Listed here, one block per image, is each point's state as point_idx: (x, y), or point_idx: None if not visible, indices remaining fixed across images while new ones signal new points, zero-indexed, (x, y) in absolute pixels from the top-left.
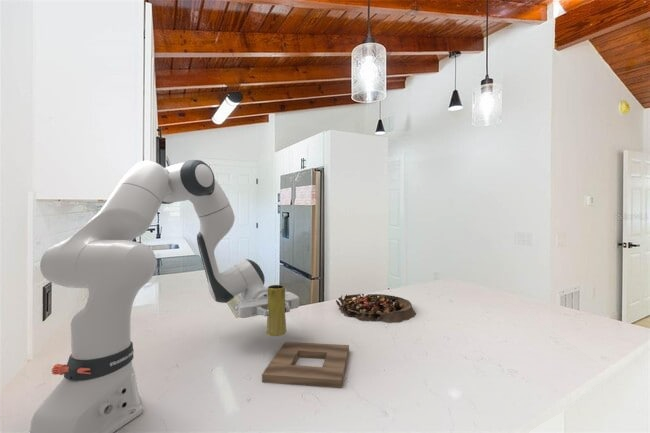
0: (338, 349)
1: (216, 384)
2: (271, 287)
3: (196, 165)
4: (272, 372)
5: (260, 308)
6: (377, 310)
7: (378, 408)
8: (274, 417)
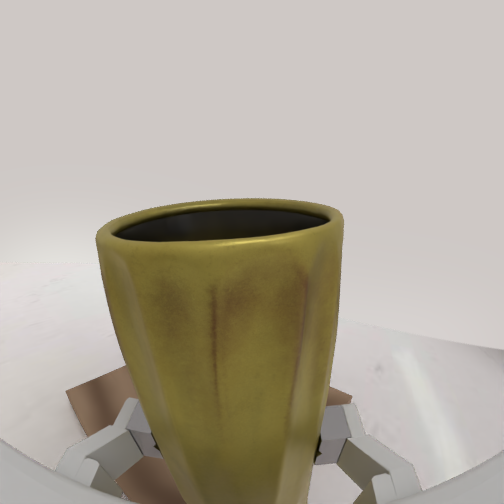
0: (101, 394)
1: (450, 423)
2: (247, 282)
3: None
4: None
5: (385, 457)
6: None
7: None
8: (341, 329)
